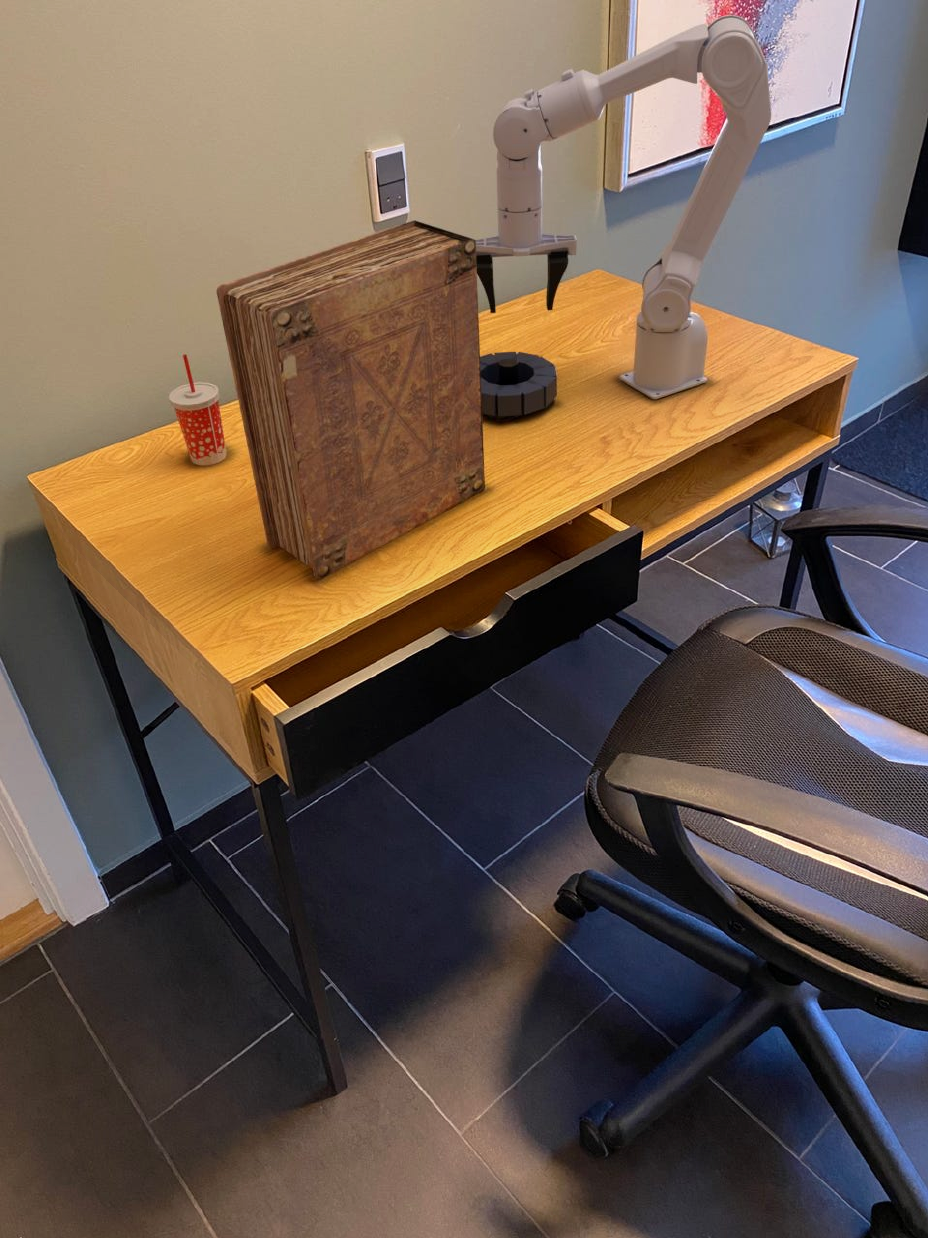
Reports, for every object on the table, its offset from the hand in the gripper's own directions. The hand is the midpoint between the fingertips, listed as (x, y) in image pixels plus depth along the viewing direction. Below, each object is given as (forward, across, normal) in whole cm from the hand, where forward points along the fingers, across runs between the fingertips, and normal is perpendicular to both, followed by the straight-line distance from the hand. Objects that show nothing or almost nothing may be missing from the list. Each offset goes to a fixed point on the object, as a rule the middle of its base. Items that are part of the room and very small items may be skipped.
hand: (521, 308), depth 136 cm
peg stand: (+10, -2, -6) cm, 12 cm away
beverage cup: (+11, -42, -18) cm, 47 cm away
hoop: (+9, -2, -6) cm, 11 cm away
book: (+11, -18, -34) cm, 40 cm away
